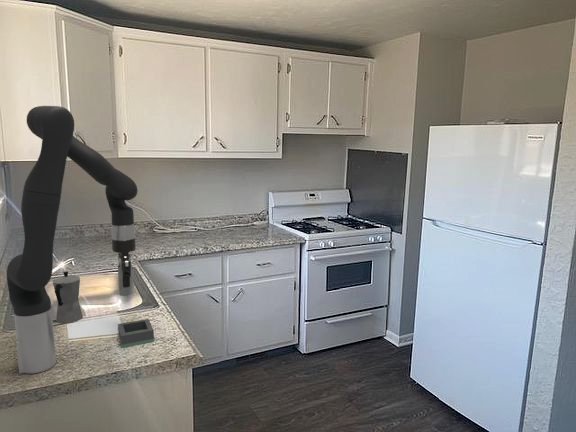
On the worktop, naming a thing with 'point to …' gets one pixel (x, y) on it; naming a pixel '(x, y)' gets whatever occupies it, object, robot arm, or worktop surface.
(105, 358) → the worktop surface
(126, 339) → the socket board
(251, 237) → the worktop surface
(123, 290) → the dark grey cylinder
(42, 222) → the robot arm
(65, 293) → the coffeepot
